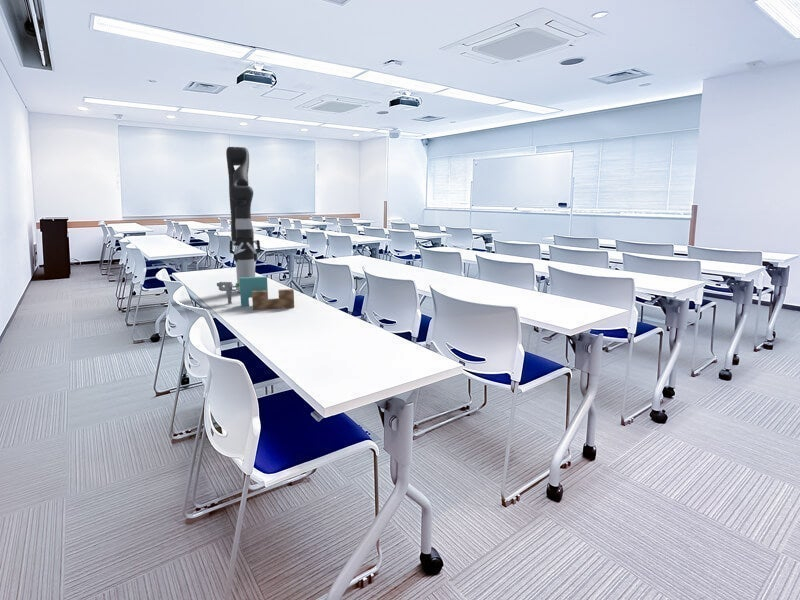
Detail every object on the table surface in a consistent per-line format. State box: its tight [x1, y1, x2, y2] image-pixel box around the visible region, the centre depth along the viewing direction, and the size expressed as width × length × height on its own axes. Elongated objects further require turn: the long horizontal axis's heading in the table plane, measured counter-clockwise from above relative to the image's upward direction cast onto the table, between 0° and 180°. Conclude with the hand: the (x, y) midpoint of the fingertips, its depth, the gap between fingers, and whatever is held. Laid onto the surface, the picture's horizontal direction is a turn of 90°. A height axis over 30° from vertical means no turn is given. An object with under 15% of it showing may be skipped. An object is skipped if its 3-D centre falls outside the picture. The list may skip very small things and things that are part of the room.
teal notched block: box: [239, 275, 269, 308], centre depth 218 cm, size 12×3×13 cm, turn 108°
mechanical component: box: [216, 281, 240, 305], centre depth 221 cm, size 3×10×10 cm, turn 89°
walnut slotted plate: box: [251, 288, 295, 311], centre depth 214 cm, size 18×3×8 cm, turn 108°
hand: (245, 261), depth 232 cm, fingers open, 8 cm apart
